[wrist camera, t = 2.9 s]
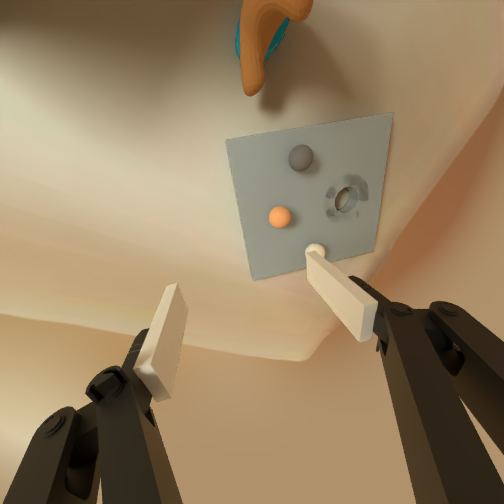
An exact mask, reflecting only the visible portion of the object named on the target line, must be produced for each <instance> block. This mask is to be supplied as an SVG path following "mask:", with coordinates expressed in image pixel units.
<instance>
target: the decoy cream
mask: <svg viewBox="0 0 504 504" xmlns="http://www.w3.org/2000/svg"><path fill="white" fill-rule="evenodd" d="M311 251H316V252H317V253H318V254H320V255H321V256H322V257H323V258H324V256H325V249H324V248H323V246H321V245H320V244H317V243H313V244H310V245H309V246H308V247H307V248H306V250H305V256H306V252H311Z"/></svg>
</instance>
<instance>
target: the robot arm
mask: <svg viewBox="0 0 504 504" xmlns="http://www.w3.org/2000/svg"><path fill="white" fill-rule="evenodd" d="M306 263H307V280H308V282H309V283H310V284H311V285H312V286H313V288H314V289H315V290H316V291H317V292H318V294H319V295H320V296H321V297H322V298H323V299H324V301H325V302H326V303H327V304H328V305H329V307H330V308H331V309H332V310H333V311H334V313H335V314H336V315H337V316H338V317H339V319H340V320H341V321H342V322H343V323H344V325H345V326H346V327H347V328H348V329H349V331H350V332H351V333H352V334H353V335H354V336H355V338H356V339H357V340H358V341H359V342H363V341H366V340H370V339H372V334H373V332H374V333H375V334H376V335H377V336H378V342H377V347H376V351H377V352H378V351H379V349H380V353H381V357H382V362H383V366H384V370H385V374H386V378H387V382H388V387H389V391H390V395H391V399H392V403H393V408H394V412H395V416H396V420H397V424H398V429H399V432H400V437H401V441H402V445H403V449H404V453H405V458H406V462H407V466H408V470H409V474H410V479H411V483H412V487H413V491H414V495H415V500H416V504H504V484H503V482H502V480H501V478H500V476H499V474H498V472H497V470H496V468H495V466H494V464H493V462H492V460H491V458H490V456H489V454H488V452H487V450H486V448H485V446H484V444H483V443H482V441H481V439H480V437H479V435H478V433H477V431H476V429H475V427H474V425H473V423H472V421H471V419H470V417H469V415H468V413H467V411H466V409H465V407H464V406H463V404H462V402H461V400H460V398H461V399H462V401H463V402H464V403H465V405H466V406H467V407H468V409H469V410H470V411H471V413H472V414H473V415H474V417H475V418H476V419H477V420H478V422H479V423H480V424H481V426H482V427H483V428H484V430H485V431H486V432H487V434H488V435H489V436H490V438H491V439H492V440H493V442H494V443H495V444H496V445H497V447H498V448H499V449H500V451H501V452H502V453H503V455H504V342H503V341H502V340H501V339H499V338H498V337H497V336H496V335H495V334H493V333H492V332H491V331H490V330H488V329H487V328H486V327H485V326H483V325H482V324H481V323H480V322H478V321H477V320H476V319H475V318H474V317H472V316H471V315H470V314H469V313H467V312H466V311H465V310H464V309H462V308H461V307H459V306H457V305H454V304H452V303H448V302H444V301H436V302H432V303H431V304H430V307H429V309H412V308H411V307H409V306H408V305H405V304H402V303H398V302H391V301H390V300H388V299H387V298H386V297H384V296H383V295H382V294H380V293H379V292H378V291H376V290H375V289H374V288H372V287H371V286H370V285H368V284H367V283H366V282H364V281H363V280H362V279H360V278H357V277H355V276H349V277H347V276H346V275H344V274H343V273H342V272H341V271H339V270H338V269H337V268H336V267H334V266H333V265H332V264H331V263H330V262H328V261H327V260H326V259H325V258H323V257H322V256H321V255H320V254H318V253H317V252H316V251H311V252H306ZM187 314H188V308H187V305H186V303H185V301H184V298H183V296H182V293H181V291H180V288H179V286H178V284H177V283H175V284H171V285H167V287H166V290H165V292H164V294H163V297H162V299H161V302H160V304H159V307H158V309H157V312H156V314H155V316H154V319H153V321H152V324H151V326H150V328H148V329H144V330H142V331H141V332H140V333H139V334H138V335H137V336H136V338H135V340H134V342H133V344H132V347H131V348H130V350H129V354H127V357H126V359H125V361H124V363H123V365H122V367H121V368H120V367H119V366H111V367H109V368H106V369H105V370H103V371H101V372H100V373H99V374H97V375H96V376H95V377H94V379H93V380H92V381H91V382H90V383H89V385H88V387H87V389H86V395H87V396H88V397H89V398H90V399H91V400H92V401H93V402H91V403H89V404H88V405H86V406H84V407H82V408H80V409H79V410H77V411H76V410H75V409H74V408H73V407H65V408H62V409H60V410H58V411H57V412H55V413H53V414H52V415H51V416H50V417H49V418H47V419H46V420H45V421H44V422H43V423H42V424H41V426H40V427H39V428H38V429H37V431H36V432H35V434H34V436H33V437H32V440H31V442H30V444H29V446H28V448H27V451H26V453H25V455H24V457H23V459H22V462H21V464H20V466H19V468H18V471H17V473H16V475H15V477H14V480H13V482H12V484H11V486H10V488H9V491H8V493H7V495H6V497H5V499H4V502H3V504H96V503H97V496H98V489H99V484H100V478H101V487H102V502H103V504H183V503H182V500H181V496H180V493H179V490H178V487H177V484H176V481H175V478H174V475H173V472H172V469H171V466H170V463H169V460H168V456H167V453H166V450H165V447H164V444H163V441H162V438H161V435H160V432H159V429H158V426H157V423H156V420H155V417H154V414H153V410H152V409H151V407H150V402H151V398H152V397H153V398H154V400H155V401H156V402H160V401H163V400H166V399H170V398H172V393H173V388H174V383H175V377H176V372H177V367H178V362H179V356H180V351H181V345H182V341H183V335H184V330H185V325H186V319H187ZM455 344H456V345H457V346H458V347H459V348H460V349H459V348H458V347H457V346H456V345H455ZM459 397H460V398H459Z"/></svg>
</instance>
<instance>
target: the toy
mask: <svg viewBox="0 0 504 504" xmlns="http://www.w3.org/2000/svg"><path fill="white" fill-rule="evenodd" d="M312 4H313V0H244V1H243V4H242V9H241V15H240V18H239V22H238V28H237V34H236V52H237V55H238V57H239V59H240V62H241V75H242V84H243V89H244V92H245V94H246V95H247V96H253V95H255V94H256V93H258V92H259V91H260V90H261V88H262V86H263V84H264V81H265V72H264V60H265V59H266V58H268V57H269V56H270V54H271V53H272V52H273V51H274V49H275V48H276V46H277V45H278V44H279V43H280V42H281V40H282V39H283V38H284V36H285V35H284V31H285V29H286V27H287V25H288V22H289V19H291V20H292V21H294V22H302V21H304V20H305V19H306V18H307V17H308V15H309V13H310V11H311V8H312Z"/></svg>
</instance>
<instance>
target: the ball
mask: <svg viewBox="0 0 504 504" xmlns="http://www.w3.org/2000/svg"><path fill="white" fill-rule="evenodd" d="M290 219H291V215H290V212H289V210H288V209H287V208H285V207H283V206H277V207H275V208H273V209H272V210H271V212H270V214H269V221H270V223H271V225H272V226H274V227H276V228H283V227H285V226H287V225H288V223H289V222H290Z"/></svg>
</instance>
